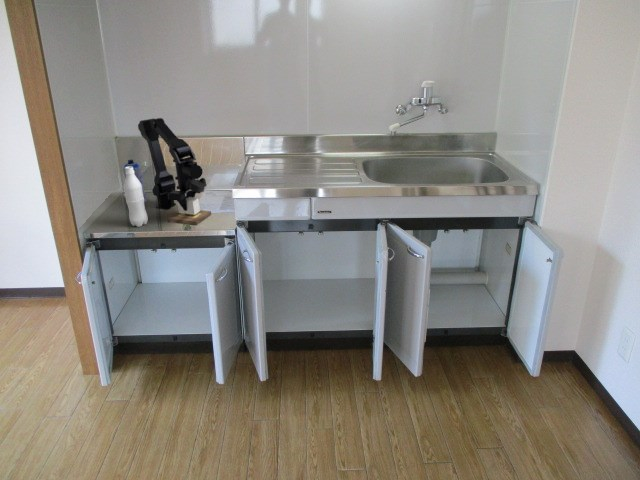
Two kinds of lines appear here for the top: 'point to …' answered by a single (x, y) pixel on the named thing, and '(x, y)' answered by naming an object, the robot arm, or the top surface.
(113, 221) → the top surface
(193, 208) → the block
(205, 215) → the board
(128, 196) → the water bottle
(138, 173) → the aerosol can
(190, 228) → the top surface
